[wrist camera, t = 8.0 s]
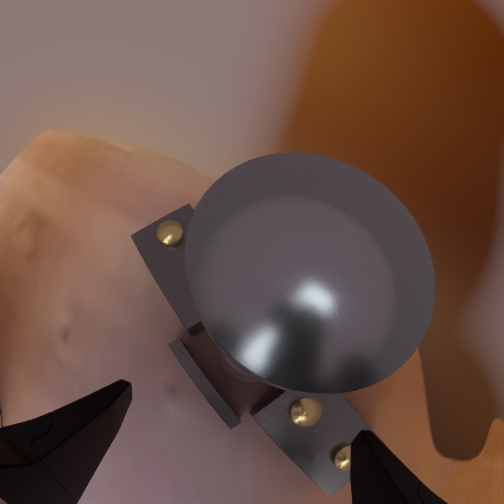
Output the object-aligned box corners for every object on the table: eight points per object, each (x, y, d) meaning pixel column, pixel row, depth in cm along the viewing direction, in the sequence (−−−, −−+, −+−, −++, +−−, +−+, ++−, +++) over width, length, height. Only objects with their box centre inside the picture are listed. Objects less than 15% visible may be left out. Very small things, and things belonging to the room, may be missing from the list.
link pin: (290, 380, 17) (462, 336, 4) (221, 395, 16) (214, 429, 3) (274, 315, 19) (375, 154, 6) (207, 327, 18) (176, 161, 5)
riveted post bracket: (382, 426, 15) (405, 428, 13) (300, 498, 12) (313, 513, 10) (207, 213, 23) (205, 189, 20) (122, 261, 20) (110, 241, 17)
